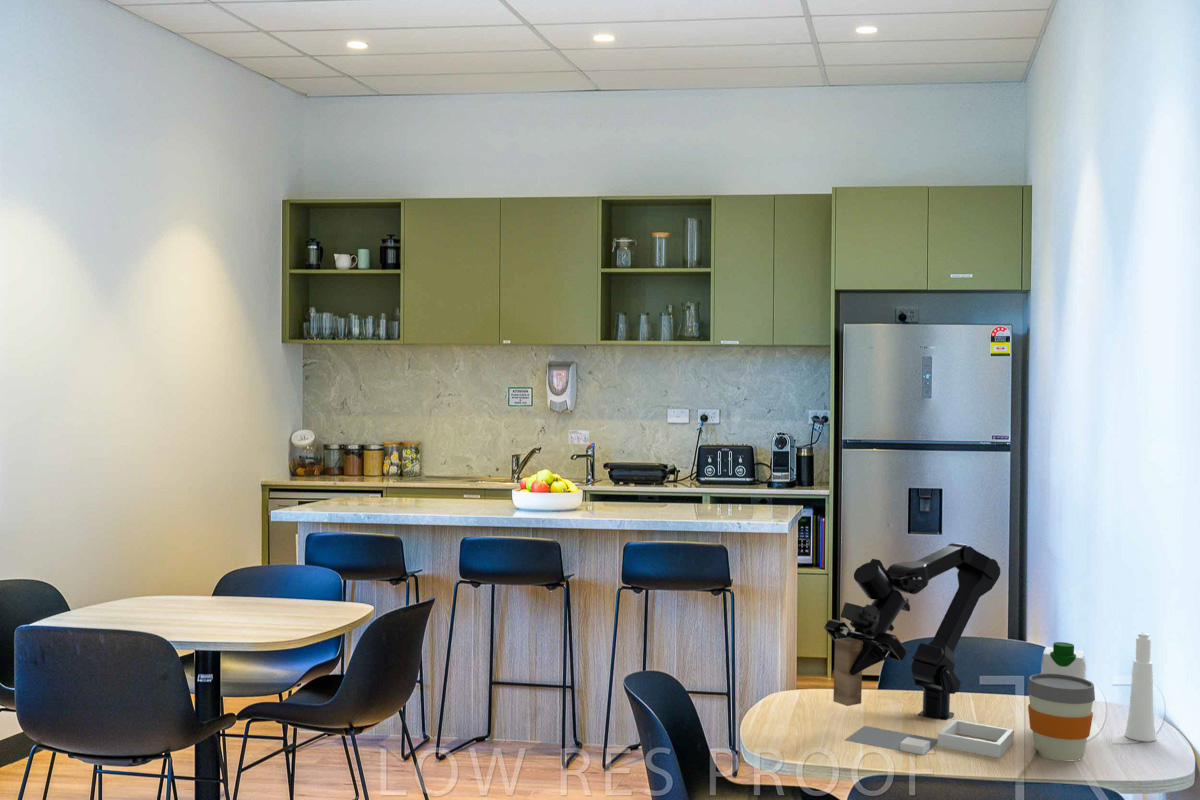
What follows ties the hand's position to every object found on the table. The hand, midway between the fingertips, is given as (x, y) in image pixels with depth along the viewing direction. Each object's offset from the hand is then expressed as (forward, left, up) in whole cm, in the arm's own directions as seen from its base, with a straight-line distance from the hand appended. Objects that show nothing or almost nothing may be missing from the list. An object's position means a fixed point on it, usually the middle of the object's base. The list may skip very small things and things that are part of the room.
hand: (843, 671), depth 237 cm
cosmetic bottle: (-38, +52, -14) cm, 66 cm away
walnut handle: (-1, +1, -7) cm, 7 cm away
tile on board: (+4, +17, -12) cm, 21 cm away
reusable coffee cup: (-14, +40, -14) cm, 44 cm away
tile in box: (-7, +26, -13) cm, 29 cm away
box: (-7, +26, -13) cm, 30 cm away
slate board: (+1, +11, -13) cm, 17 cm away
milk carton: (-28, +38, -14) cm, 49 cm away
